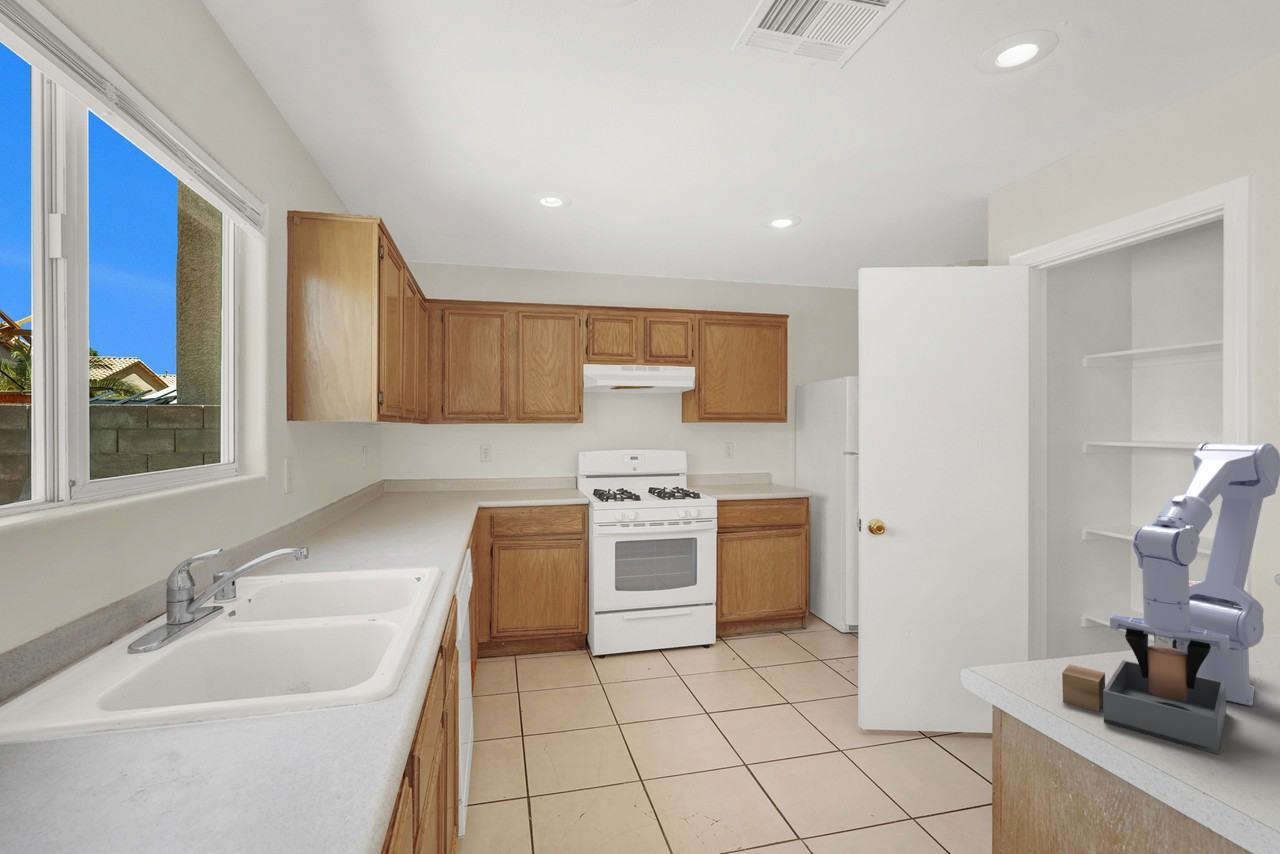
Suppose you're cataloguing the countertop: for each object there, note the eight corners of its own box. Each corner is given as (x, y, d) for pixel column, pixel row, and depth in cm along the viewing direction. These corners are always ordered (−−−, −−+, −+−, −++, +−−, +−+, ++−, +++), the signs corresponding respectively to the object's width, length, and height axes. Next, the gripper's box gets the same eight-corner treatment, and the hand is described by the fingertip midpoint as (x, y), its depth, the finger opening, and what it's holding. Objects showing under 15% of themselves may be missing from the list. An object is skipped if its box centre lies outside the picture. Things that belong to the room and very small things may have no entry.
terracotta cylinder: (1140, 688, 98) (1139, 647, 98) (1164, 685, 99) (1163, 644, 99) (1171, 702, 93) (1170, 658, 93) (1197, 699, 94) (1196, 655, 94)
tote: (1123, 687, 104) (1122, 660, 104) (1226, 713, 95) (1225, 682, 95) (1103, 722, 93) (1103, 690, 93) (1218, 754, 83) (1217, 719, 83)
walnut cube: (1070, 692, 103) (1069, 664, 103) (1105, 701, 100) (1104, 672, 100) (1062, 701, 100) (1062, 672, 100) (1099, 711, 96) (1098, 681, 96)
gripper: (1105, 595, 99) (1107, 675, 99) (1226, 614, 88) (1228, 704, 88) (1113, 587, 104) (1115, 663, 104) (1229, 604, 93) (1231, 689, 93)
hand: (1168, 681), depth 96 cm, fingers closed on terracotta cylinder, 5 cm apart
